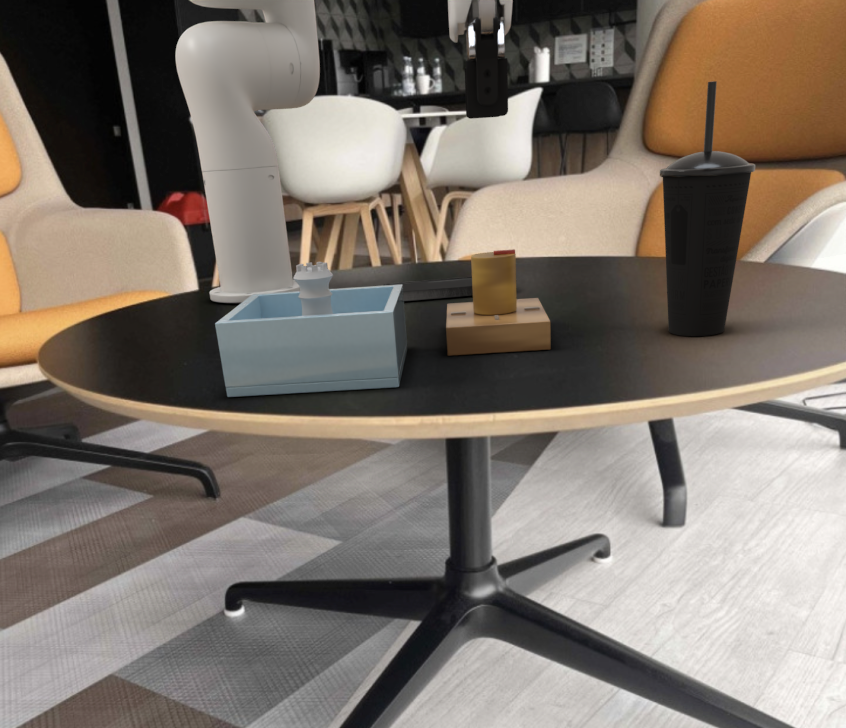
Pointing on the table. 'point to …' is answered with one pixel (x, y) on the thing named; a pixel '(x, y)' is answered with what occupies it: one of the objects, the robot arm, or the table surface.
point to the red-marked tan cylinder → (494, 282)
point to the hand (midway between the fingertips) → (485, 117)
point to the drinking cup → (703, 232)
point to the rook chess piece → (314, 288)
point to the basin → (314, 343)
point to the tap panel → (497, 329)
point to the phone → (436, 288)
